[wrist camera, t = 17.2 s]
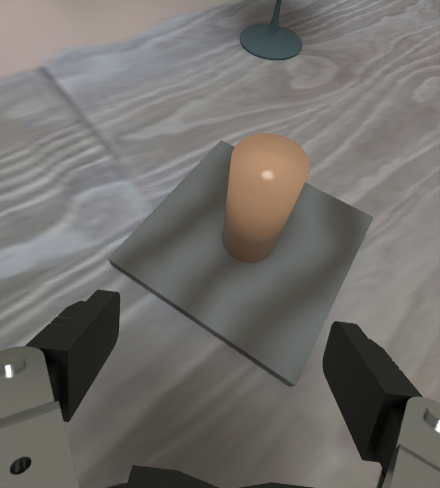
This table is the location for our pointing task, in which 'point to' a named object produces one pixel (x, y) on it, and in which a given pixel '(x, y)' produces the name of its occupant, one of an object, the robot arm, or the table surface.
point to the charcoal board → (246, 267)
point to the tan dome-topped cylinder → (261, 194)
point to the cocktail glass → (271, 39)
